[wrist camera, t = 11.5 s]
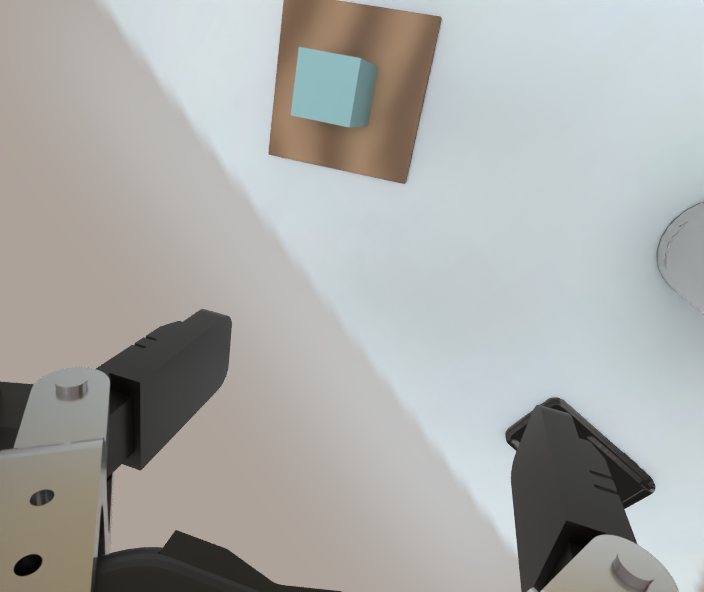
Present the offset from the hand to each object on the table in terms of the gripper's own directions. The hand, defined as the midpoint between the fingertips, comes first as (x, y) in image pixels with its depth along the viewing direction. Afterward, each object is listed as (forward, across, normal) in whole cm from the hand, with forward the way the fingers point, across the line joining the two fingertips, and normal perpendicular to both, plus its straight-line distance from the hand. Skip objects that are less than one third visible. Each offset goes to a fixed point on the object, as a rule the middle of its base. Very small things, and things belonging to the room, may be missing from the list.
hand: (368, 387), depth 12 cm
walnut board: (+36, +11, -7) cm, 38 cm away
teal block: (+35, +11, -7) cm, 37 cm away
